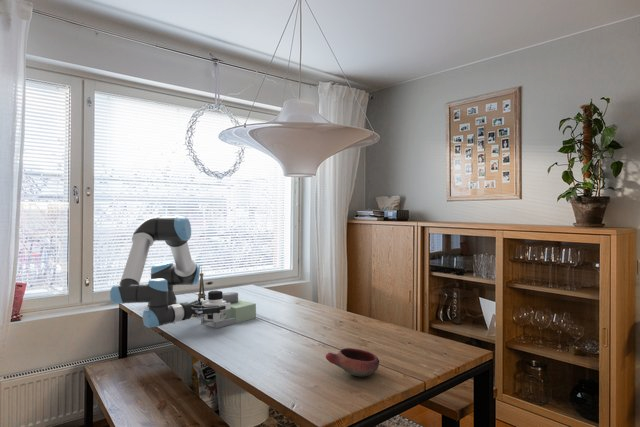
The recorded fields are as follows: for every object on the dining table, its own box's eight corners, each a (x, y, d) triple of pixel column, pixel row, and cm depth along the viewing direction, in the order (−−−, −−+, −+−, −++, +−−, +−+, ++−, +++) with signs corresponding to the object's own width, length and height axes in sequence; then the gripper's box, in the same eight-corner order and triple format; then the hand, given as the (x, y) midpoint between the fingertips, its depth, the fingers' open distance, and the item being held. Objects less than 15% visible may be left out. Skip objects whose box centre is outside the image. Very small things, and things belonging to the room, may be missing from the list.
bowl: (357, 363, 143) (357, 341, 143) (386, 374, 134) (386, 350, 133) (323, 377, 132) (323, 352, 132) (352, 390, 123) (352, 363, 123)
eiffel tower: (213, 315, 209) (213, 266, 208) (191, 317, 205) (191, 267, 205) (211, 310, 219) (211, 263, 218) (190, 312, 215) (190, 264, 215)
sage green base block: (192, 320, 200) (192, 297, 199) (231, 311, 217) (231, 290, 216) (216, 328, 186) (215, 304, 186) (256, 317, 203) (256, 295, 203)
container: (219, 321, 188) (219, 292, 188) (204, 320, 190) (203, 292, 190) (226, 316, 196) (226, 289, 196) (211, 316, 198) (211, 289, 197)
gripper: (166, 315, 188) (207, 307, 204) (195, 326, 171) (237, 315, 187) (166, 299, 188) (206, 292, 204) (195, 308, 171) (237, 299, 187)
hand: (221, 303), depth 195 cm, fingers open, 13 cm apart
